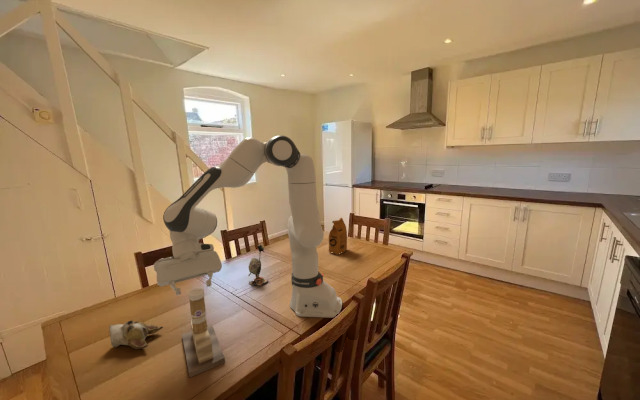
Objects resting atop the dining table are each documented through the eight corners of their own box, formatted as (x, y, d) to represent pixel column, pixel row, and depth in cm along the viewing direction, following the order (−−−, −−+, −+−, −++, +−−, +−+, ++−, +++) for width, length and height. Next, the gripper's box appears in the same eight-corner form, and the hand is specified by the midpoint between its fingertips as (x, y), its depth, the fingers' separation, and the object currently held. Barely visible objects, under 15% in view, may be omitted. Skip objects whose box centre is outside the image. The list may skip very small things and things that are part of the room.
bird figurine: (257, 275, 137) (255, 240, 133) (270, 282, 129) (268, 245, 126) (244, 281, 131) (241, 244, 128) (256, 288, 123) (253, 249, 120)
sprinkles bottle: (195, 335, 81) (190, 296, 78) (190, 329, 84) (186, 291, 82) (209, 329, 84) (205, 291, 81) (205, 322, 87) (201, 286, 85)
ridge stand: (182, 338, 91) (179, 319, 89) (212, 327, 96) (210, 309, 95) (189, 377, 74) (186, 355, 73) (225, 361, 79) (223, 340, 78)
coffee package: (326, 252, 168) (325, 220, 164) (337, 247, 177) (336, 216, 174) (338, 255, 162) (338, 222, 158) (349, 250, 171) (349, 218, 167)
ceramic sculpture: (120, 311, 92) (163, 311, 93) (122, 333, 94) (164, 332, 95) (96, 332, 82) (145, 331, 83) (99, 355, 83) (147, 355, 84)
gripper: (152, 256, 84) (157, 296, 77) (217, 243, 95) (226, 277, 89) (153, 264, 88) (158, 303, 82) (215, 251, 99) (224, 284, 93)
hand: (194, 289), depth 85 cm, fingers open, 8 cm apart
